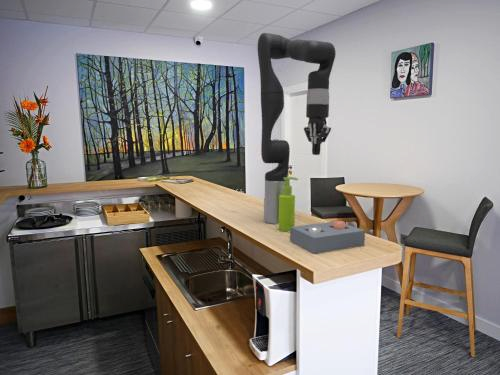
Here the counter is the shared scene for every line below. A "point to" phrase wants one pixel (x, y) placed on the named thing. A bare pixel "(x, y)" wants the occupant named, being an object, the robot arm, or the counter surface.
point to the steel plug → (314, 229)
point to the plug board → (326, 237)
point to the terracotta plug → (338, 225)
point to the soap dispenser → (286, 206)
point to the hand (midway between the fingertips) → (316, 154)
